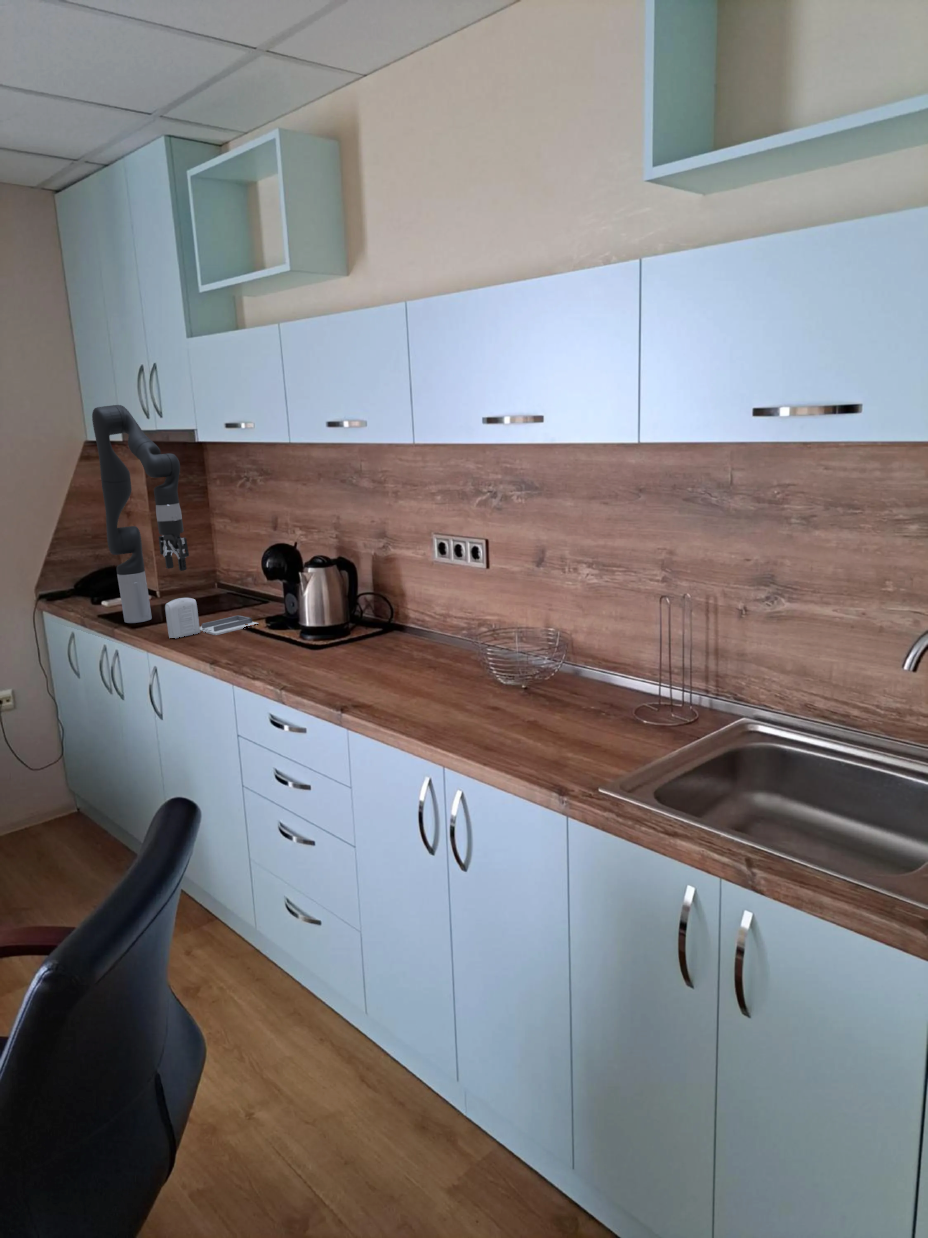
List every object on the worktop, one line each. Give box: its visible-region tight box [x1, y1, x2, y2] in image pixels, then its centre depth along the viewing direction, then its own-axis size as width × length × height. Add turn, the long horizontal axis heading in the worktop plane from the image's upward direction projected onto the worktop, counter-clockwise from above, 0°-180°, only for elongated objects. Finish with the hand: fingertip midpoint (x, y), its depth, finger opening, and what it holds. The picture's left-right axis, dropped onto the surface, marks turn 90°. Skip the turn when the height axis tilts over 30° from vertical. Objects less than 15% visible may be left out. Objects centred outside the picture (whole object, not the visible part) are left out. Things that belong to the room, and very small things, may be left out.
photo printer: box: [164, 597, 201, 639], centre depth 289 cm, size 10×4×12 cm, turn 134°
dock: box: [199, 615, 260, 636], centre depth 298 cm, size 14×16×2 cm
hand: (176, 569), depth 286 cm, fingers open, 8 cm apart
